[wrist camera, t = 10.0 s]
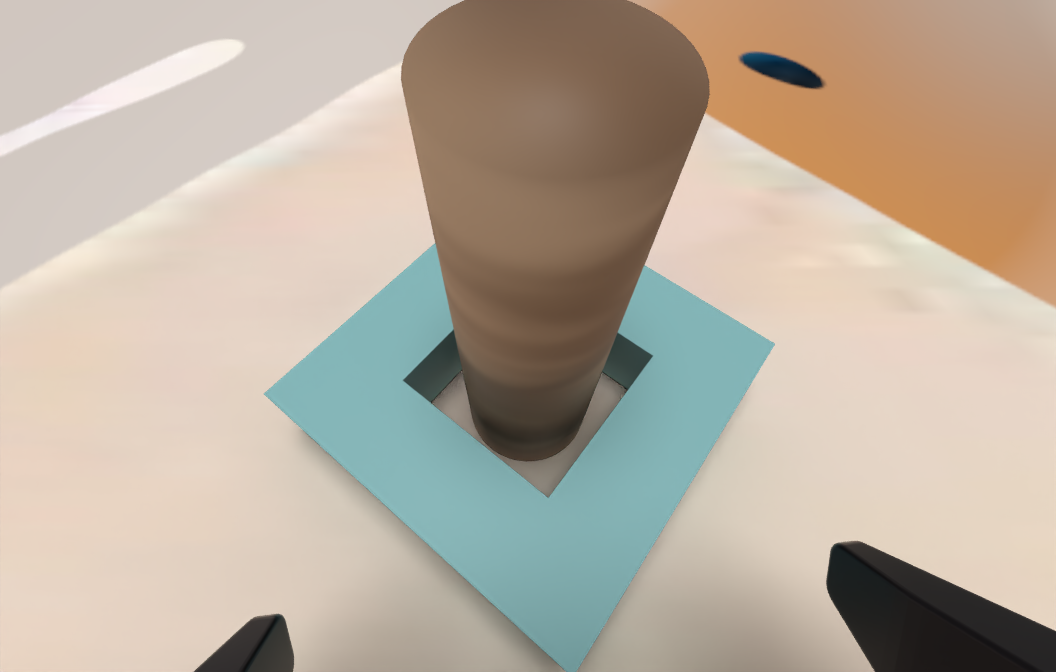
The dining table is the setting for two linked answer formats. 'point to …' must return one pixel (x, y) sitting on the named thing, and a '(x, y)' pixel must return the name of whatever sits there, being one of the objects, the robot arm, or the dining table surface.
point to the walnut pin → (546, 191)
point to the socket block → (495, 488)
